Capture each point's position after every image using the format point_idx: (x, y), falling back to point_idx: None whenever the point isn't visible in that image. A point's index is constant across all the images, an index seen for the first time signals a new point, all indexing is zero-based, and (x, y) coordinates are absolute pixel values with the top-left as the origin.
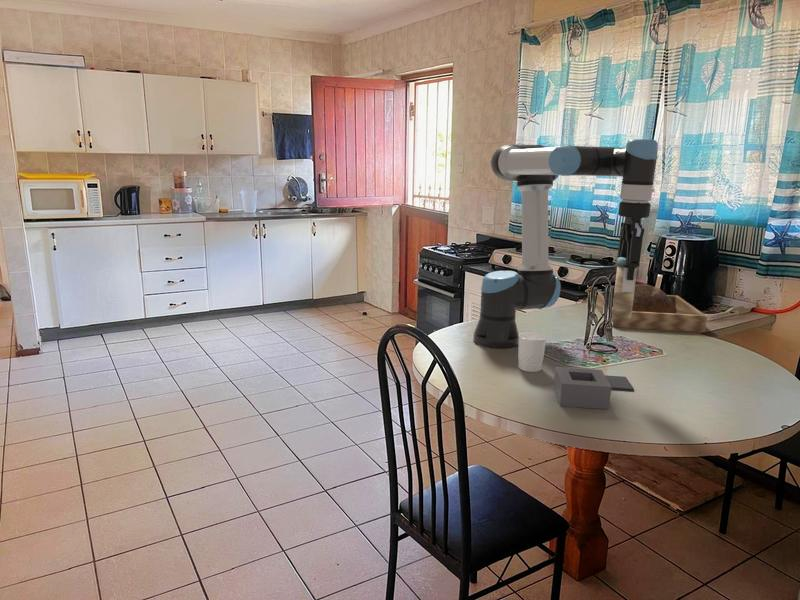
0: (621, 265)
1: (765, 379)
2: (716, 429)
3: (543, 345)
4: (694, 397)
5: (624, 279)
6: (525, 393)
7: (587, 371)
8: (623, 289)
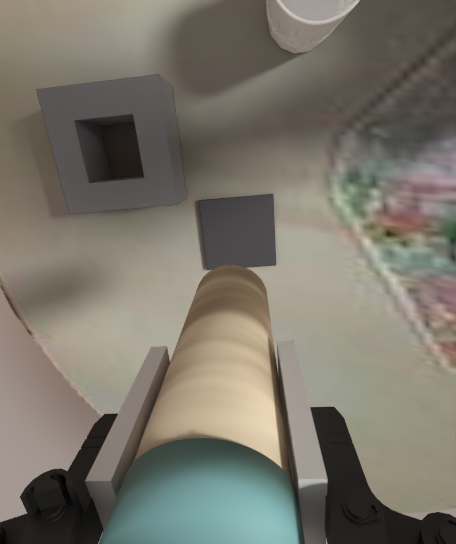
0: (135, 471)
1: None
2: (86, 358)
3: (286, 23)
4: None
5: (127, 401)
6: (109, 5)
7: (151, 167)
8: (147, 359)
